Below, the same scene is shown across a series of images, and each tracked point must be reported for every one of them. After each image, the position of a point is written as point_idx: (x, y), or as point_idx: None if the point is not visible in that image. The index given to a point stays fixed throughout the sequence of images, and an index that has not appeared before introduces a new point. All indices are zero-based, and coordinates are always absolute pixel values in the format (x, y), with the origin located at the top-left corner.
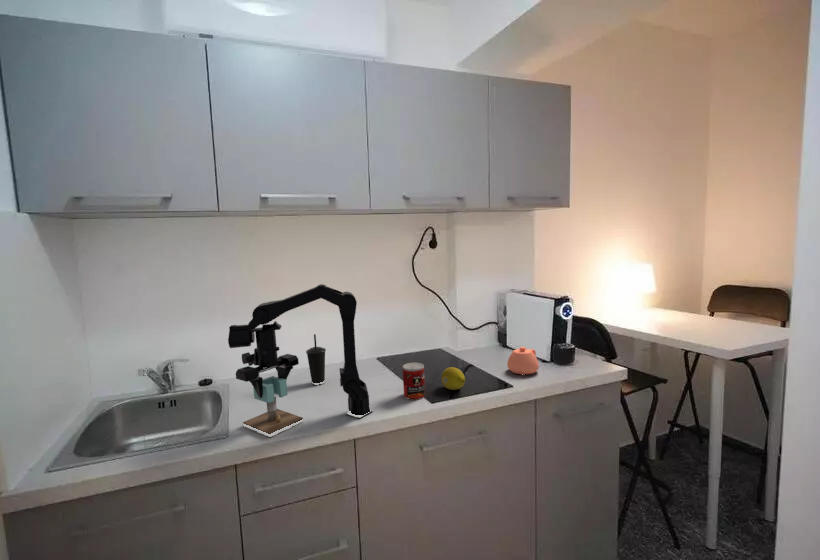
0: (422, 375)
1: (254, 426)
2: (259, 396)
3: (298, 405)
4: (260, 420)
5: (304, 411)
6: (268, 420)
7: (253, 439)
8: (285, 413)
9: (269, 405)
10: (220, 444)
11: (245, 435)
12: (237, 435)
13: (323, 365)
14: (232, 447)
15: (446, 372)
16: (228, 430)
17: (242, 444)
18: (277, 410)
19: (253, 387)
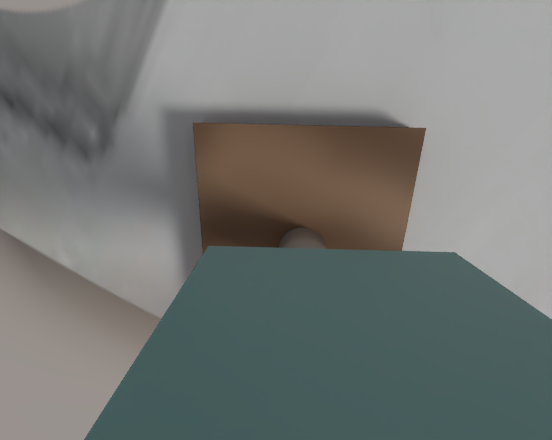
0: None
1: (205, 229)
2: None
3: (538, 162)
4: (264, 195)
5: (474, 252)
6: (279, 245)
7: (170, 277)
8: (388, 242)
9: None
10: (52, 195)
11: (164, 218)
12: (140, 185)
13: None
14: (83, 262)
15: None
16: (131, 85)
17: (121, 275)
18: (402, 167)
19: (148, 340)
